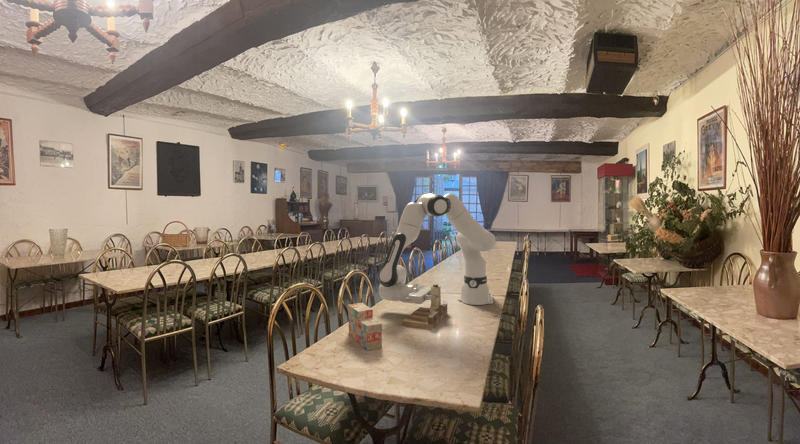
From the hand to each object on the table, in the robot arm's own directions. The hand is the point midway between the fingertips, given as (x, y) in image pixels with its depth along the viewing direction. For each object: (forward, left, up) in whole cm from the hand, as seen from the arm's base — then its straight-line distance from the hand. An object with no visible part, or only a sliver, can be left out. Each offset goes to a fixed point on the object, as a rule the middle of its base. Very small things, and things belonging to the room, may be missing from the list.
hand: (437, 296), depth 175 cm
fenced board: (+7, -4, -10) cm, 12 cm away
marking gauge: (0, -1, -8) cm, 8 cm away
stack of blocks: (+40, -18, -10) cm, 45 cm away
